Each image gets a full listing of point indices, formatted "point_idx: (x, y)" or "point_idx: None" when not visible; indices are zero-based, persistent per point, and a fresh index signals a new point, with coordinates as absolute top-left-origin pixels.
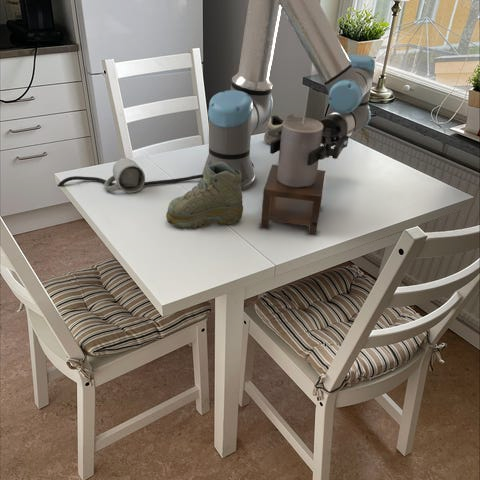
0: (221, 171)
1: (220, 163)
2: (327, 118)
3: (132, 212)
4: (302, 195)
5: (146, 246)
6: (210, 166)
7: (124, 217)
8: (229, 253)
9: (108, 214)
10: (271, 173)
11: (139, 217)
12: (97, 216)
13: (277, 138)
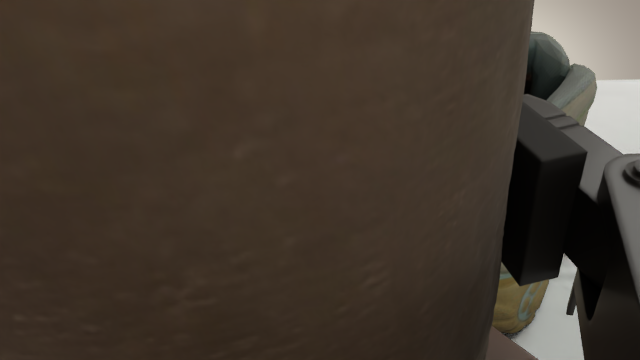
0: None
1: (573, 74)
2: None
3: (635, 127)
4: None
5: None
6: (546, 47)
7: (607, 112)
8: None
9: (636, 97)
10: (495, 346)
11: (596, 131)
12: (630, 84)
13: (561, 118)
